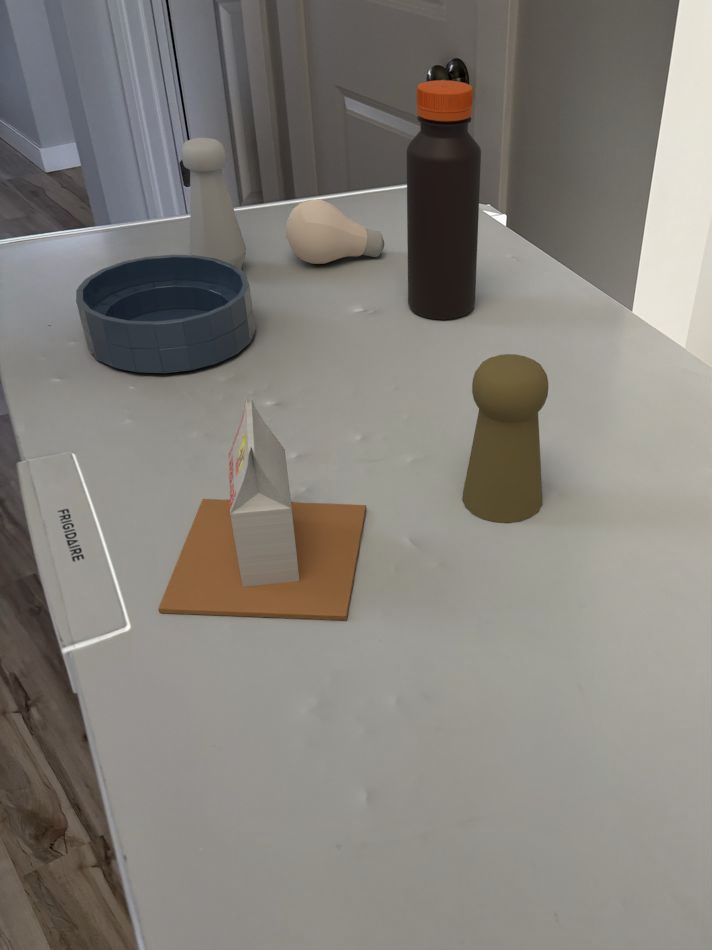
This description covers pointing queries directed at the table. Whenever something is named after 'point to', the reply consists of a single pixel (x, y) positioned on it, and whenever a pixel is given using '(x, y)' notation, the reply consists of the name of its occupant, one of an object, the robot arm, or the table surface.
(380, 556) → the table surface
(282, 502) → the white milk carton
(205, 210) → the salt shaker
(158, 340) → the bowl
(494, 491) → the pepper shaker
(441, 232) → the bottle
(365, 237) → the light bulb
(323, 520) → the mat
